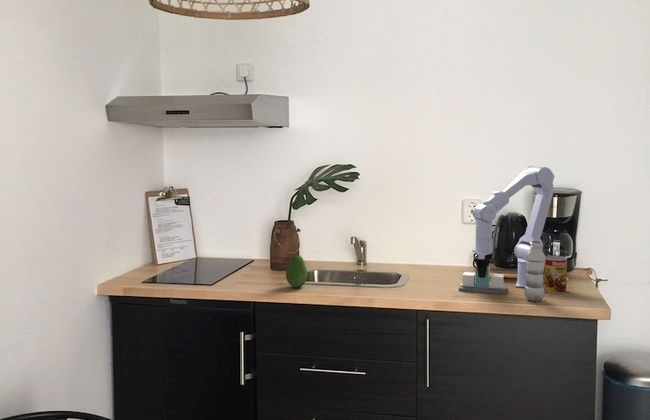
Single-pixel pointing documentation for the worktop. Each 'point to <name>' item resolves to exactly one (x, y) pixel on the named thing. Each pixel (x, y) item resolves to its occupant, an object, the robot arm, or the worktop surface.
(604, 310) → the worktop surface
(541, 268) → the plastic bottle
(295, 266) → the avocado
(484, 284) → the block
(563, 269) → the canned food
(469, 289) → the rail board
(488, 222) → the robot arm
